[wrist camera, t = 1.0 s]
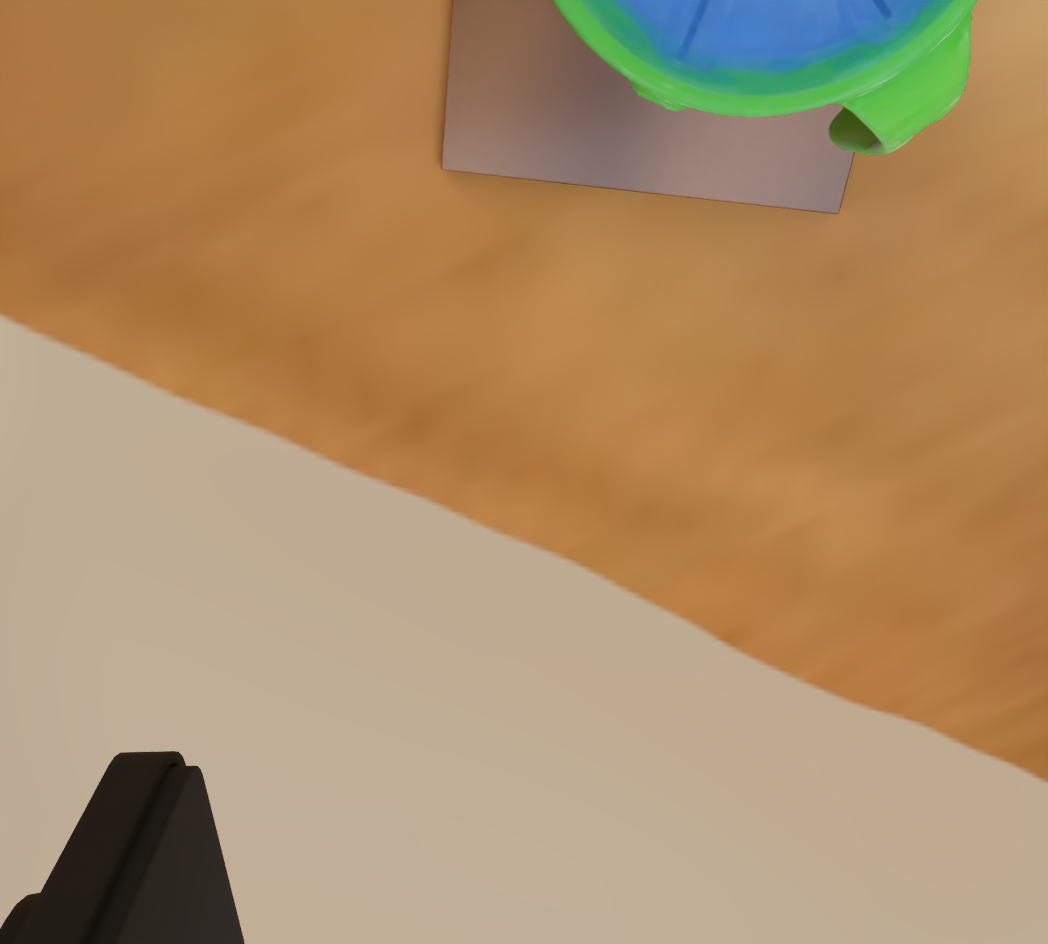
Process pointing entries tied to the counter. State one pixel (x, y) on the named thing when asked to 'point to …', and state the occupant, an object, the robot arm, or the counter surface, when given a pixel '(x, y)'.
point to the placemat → (615, 122)
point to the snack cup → (790, 58)
